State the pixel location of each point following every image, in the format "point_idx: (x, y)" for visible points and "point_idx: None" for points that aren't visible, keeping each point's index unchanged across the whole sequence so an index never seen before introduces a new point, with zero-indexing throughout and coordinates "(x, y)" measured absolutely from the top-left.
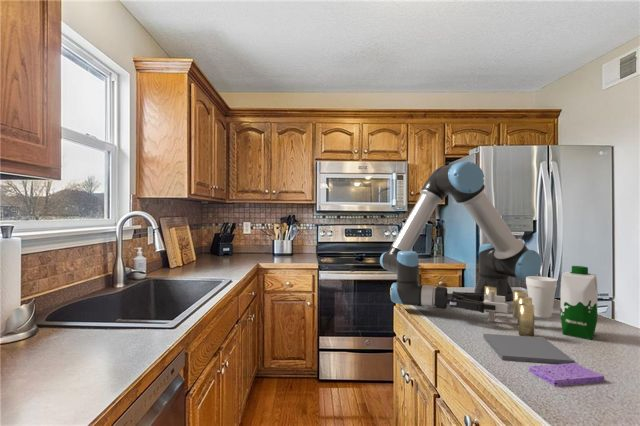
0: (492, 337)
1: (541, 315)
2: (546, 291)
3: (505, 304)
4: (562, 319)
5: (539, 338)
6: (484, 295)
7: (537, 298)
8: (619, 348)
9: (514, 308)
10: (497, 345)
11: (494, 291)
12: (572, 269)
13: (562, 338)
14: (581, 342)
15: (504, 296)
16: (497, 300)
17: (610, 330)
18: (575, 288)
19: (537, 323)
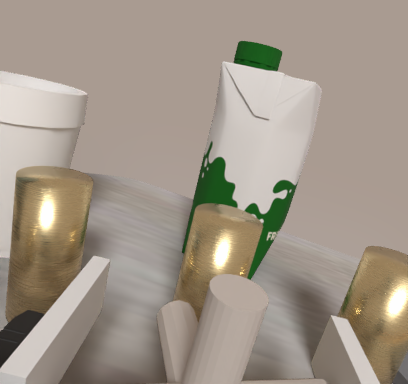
0: None
1: None
2: (76, 140)
3: (349, 329)
4: None
5: (403, 360)
6: (29, 380)
7: None
8: (294, 244)
9: (50, 286)
10: None
11: (250, 281)
12: (265, 56)
13: (293, 297)
14: (300, 276)
15: (95, 258)
16: (85, 321)
17: (162, 203)
18: (312, 128)
19: (138, 289)
